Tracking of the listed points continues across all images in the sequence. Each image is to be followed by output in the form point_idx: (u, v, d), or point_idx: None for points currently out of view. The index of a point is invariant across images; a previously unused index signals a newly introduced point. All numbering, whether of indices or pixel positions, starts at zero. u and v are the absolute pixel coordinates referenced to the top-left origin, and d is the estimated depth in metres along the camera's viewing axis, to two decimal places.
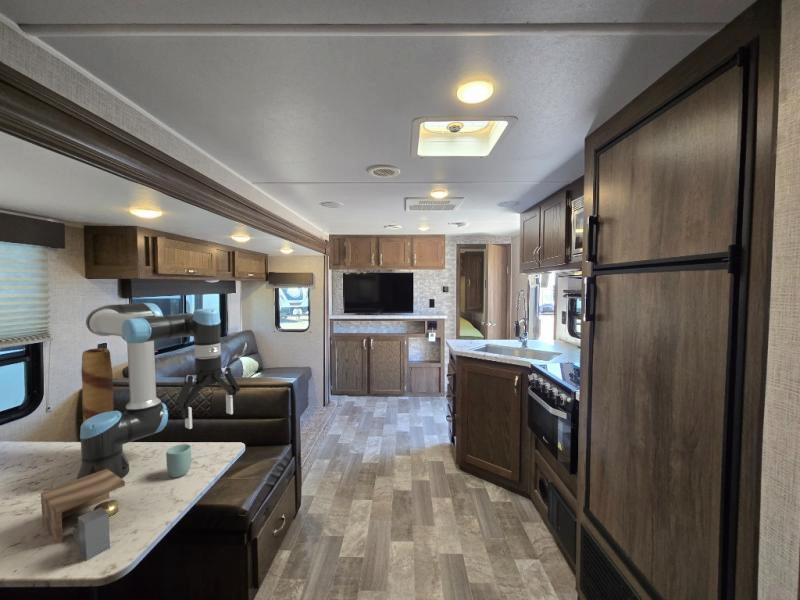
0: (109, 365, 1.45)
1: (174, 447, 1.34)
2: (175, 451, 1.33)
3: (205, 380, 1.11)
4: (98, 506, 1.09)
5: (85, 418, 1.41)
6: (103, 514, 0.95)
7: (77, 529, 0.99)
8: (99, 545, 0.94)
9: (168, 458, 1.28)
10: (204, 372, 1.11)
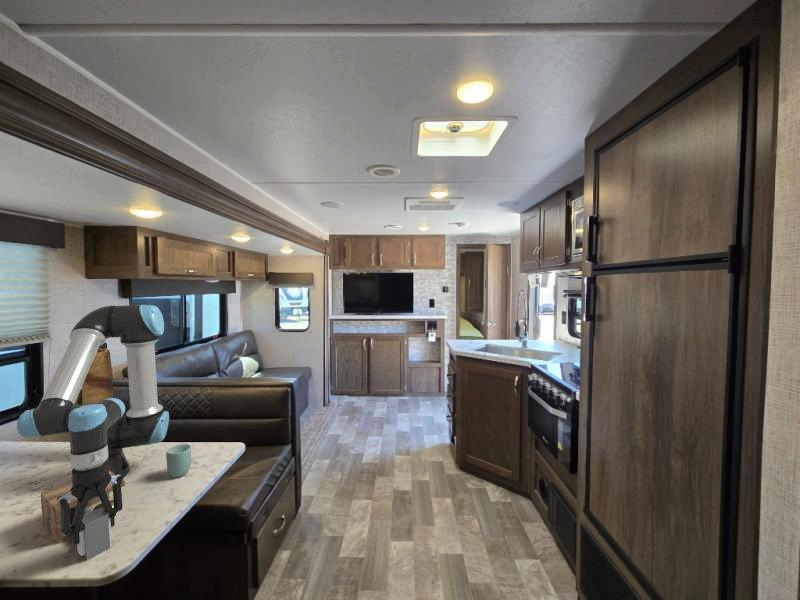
0: (109, 365, 1.45)
1: (174, 447, 1.34)
2: (175, 451, 1.33)
3: (86, 495, 0.92)
4: (98, 506, 1.09)
5: None
6: (103, 514, 0.95)
7: None
8: (99, 545, 0.94)
9: (168, 458, 1.28)
10: (80, 485, 0.91)
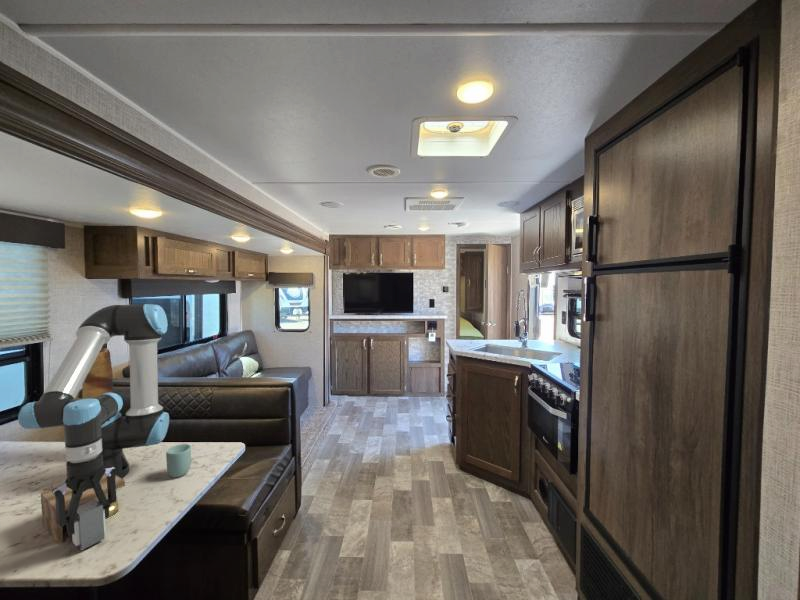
0: (109, 365, 1.45)
1: (174, 447, 1.34)
2: (175, 451, 1.33)
3: (80, 487, 0.94)
4: None
5: None
6: (97, 505, 0.97)
7: None
8: (94, 536, 0.96)
9: (168, 458, 1.28)
10: (75, 477, 0.94)
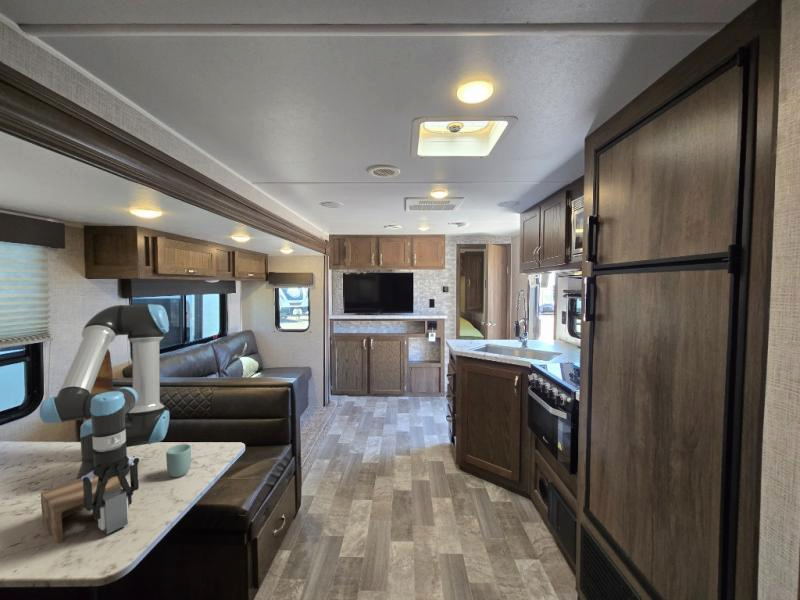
0: (109, 365, 1.45)
1: (174, 447, 1.34)
2: (175, 451, 1.33)
3: (106, 475, 1.00)
4: None
5: None
6: (121, 492, 1.03)
7: None
8: (118, 521, 1.02)
9: (168, 458, 1.28)
10: (101, 465, 0.99)
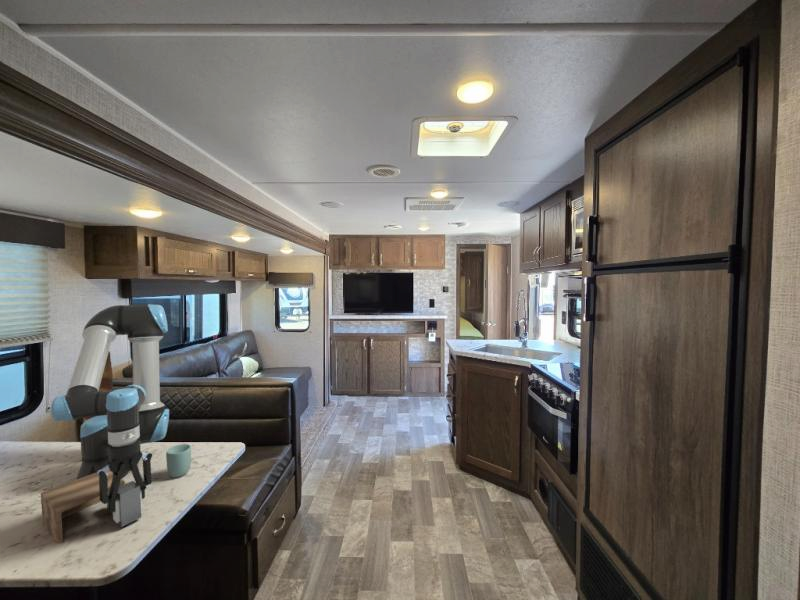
0: (109, 365, 1.45)
1: (174, 447, 1.34)
2: (175, 451, 1.33)
3: (121, 469, 1.03)
4: None
5: (85, 418, 1.41)
6: (135, 486, 1.06)
7: None
8: (132, 514, 1.05)
9: (168, 458, 1.28)
10: (116, 459, 1.02)
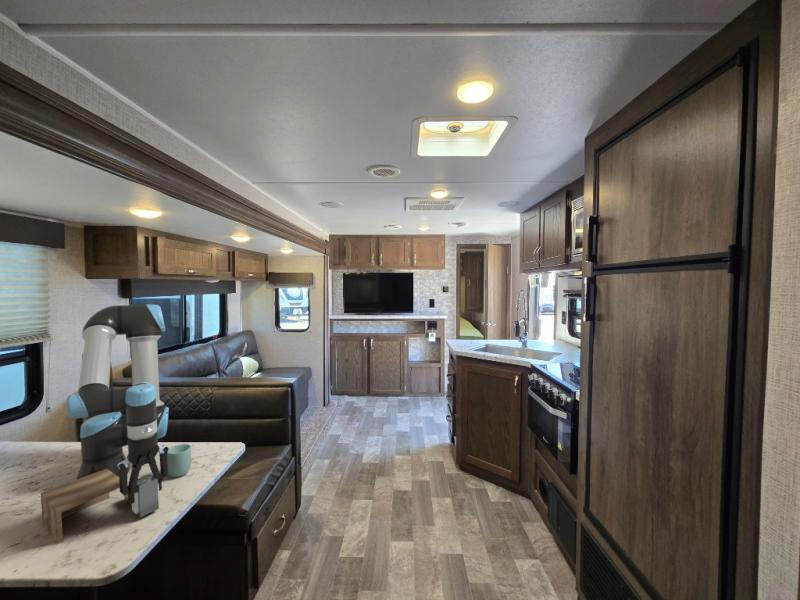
0: None
1: (174, 447, 1.34)
2: (175, 451, 1.33)
3: (140, 462, 1.07)
4: None
5: (85, 418, 1.41)
6: (153, 479, 1.10)
7: None
8: (150, 505, 1.09)
9: (168, 458, 1.28)
10: (135, 452, 1.06)
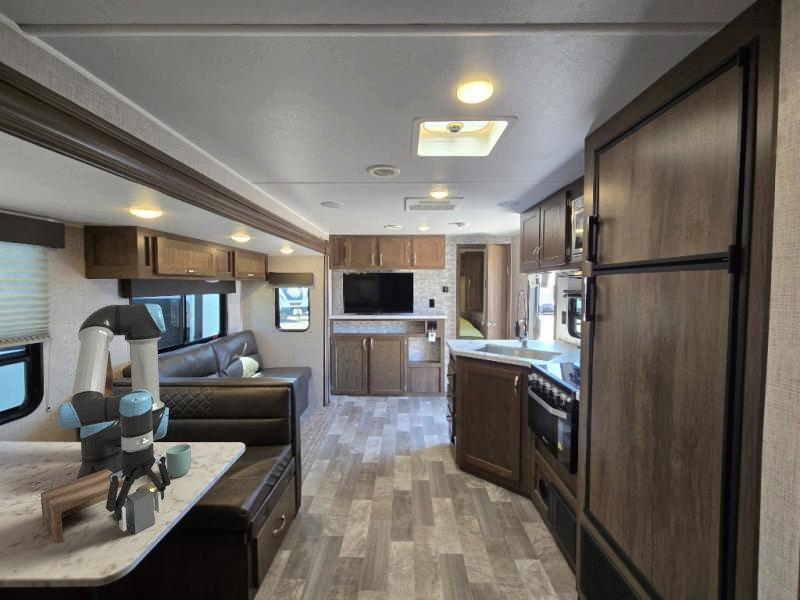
0: (109, 365, 1.45)
1: (174, 447, 1.34)
2: (175, 451, 1.33)
3: (134, 475, 1.01)
4: (140, 488, 1.19)
5: None
6: (149, 493, 1.04)
7: None
8: (146, 521, 1.03)
9: (168, 458, 1.28)
10: (131, 465, 1.01)
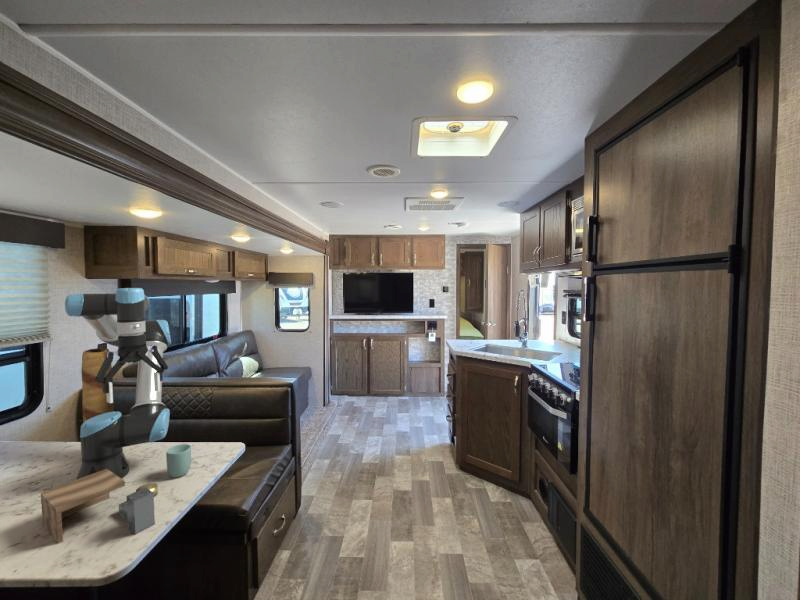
0: None
1: (174, 447, 1.34)
2: (175, 451, 1.33)
3: (127, 356, 1.14)
4: (140, 488, 1.19)
5: (85, 418, 1.41)
6: (149, 493, 1.04)
7: (123, 507, 1.08)
8: (146, 521, 1.03)
9: (168, 458, 1.28)
10: (127, 349, 1.14)
